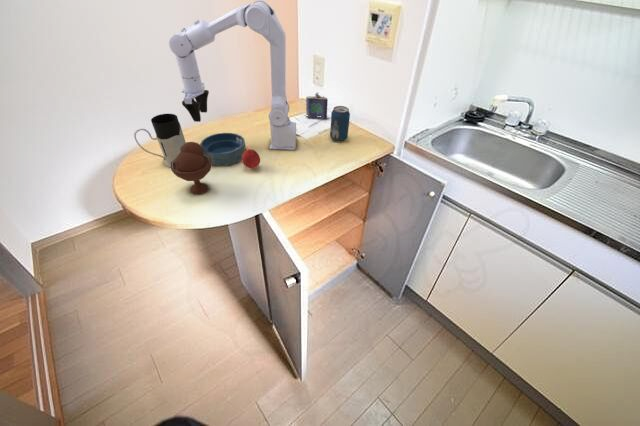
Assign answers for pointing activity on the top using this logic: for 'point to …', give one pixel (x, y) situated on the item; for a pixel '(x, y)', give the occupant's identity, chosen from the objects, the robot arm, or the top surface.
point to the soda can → (339, 123)
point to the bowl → (224, 148)
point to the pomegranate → (250, 158)
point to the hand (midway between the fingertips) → (200, 116)
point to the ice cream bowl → (192, 166)
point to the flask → (316, 107)
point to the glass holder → (166, 136)
